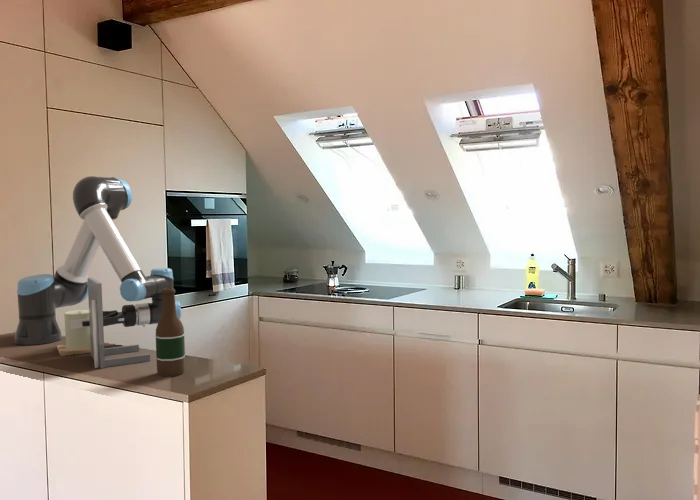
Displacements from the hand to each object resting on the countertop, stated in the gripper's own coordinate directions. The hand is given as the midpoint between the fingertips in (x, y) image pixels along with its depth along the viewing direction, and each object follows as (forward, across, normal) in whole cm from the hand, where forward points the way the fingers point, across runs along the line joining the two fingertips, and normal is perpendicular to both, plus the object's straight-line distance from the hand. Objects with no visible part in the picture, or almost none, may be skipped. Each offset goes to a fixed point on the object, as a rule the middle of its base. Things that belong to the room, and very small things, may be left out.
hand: (68, 321), depth 205 cm
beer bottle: (-21, -48, -10) cm, 53 cm away
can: (-3, 0, -9) cm, 10 cm away
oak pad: (-3, 0, -10) cm, 10 cm away
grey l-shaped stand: (-12, -21, -10) cm, 26 cm away
